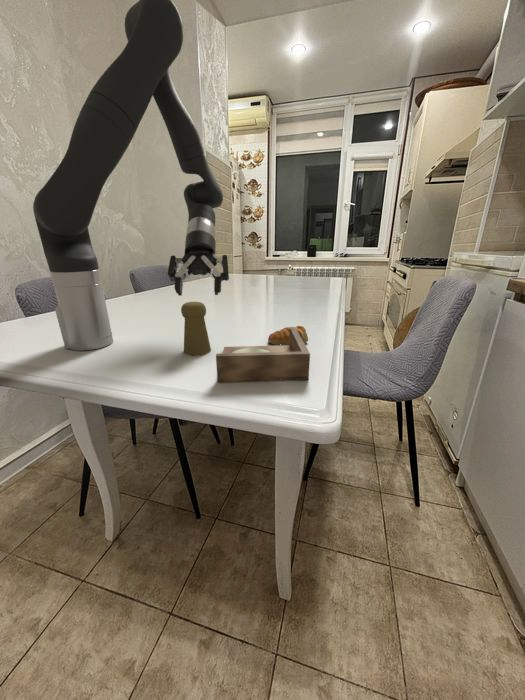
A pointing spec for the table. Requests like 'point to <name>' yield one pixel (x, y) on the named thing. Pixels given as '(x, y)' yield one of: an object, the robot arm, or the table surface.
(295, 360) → the corner tray
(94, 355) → the table surface
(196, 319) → the cork
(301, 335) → the pastry
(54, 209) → the robot arm
